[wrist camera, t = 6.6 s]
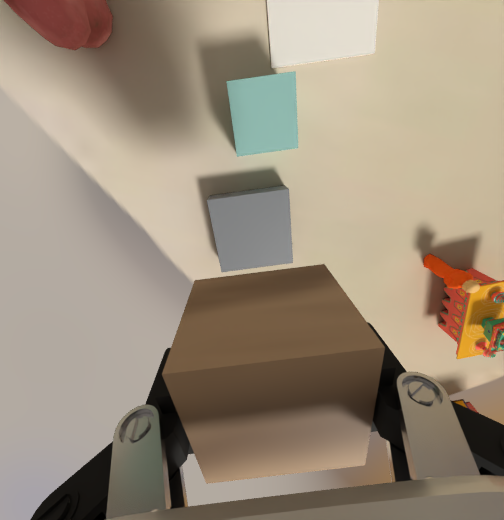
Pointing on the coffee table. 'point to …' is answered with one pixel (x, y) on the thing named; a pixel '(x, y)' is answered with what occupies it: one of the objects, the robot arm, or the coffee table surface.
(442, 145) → the coffee table surface
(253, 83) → the teal block
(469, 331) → the toy building block set
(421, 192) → the coffee table surface
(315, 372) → the walnut block
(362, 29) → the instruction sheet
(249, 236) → the base plate
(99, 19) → the toy snail
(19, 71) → the coffee table surface
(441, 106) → the coffee table surface
